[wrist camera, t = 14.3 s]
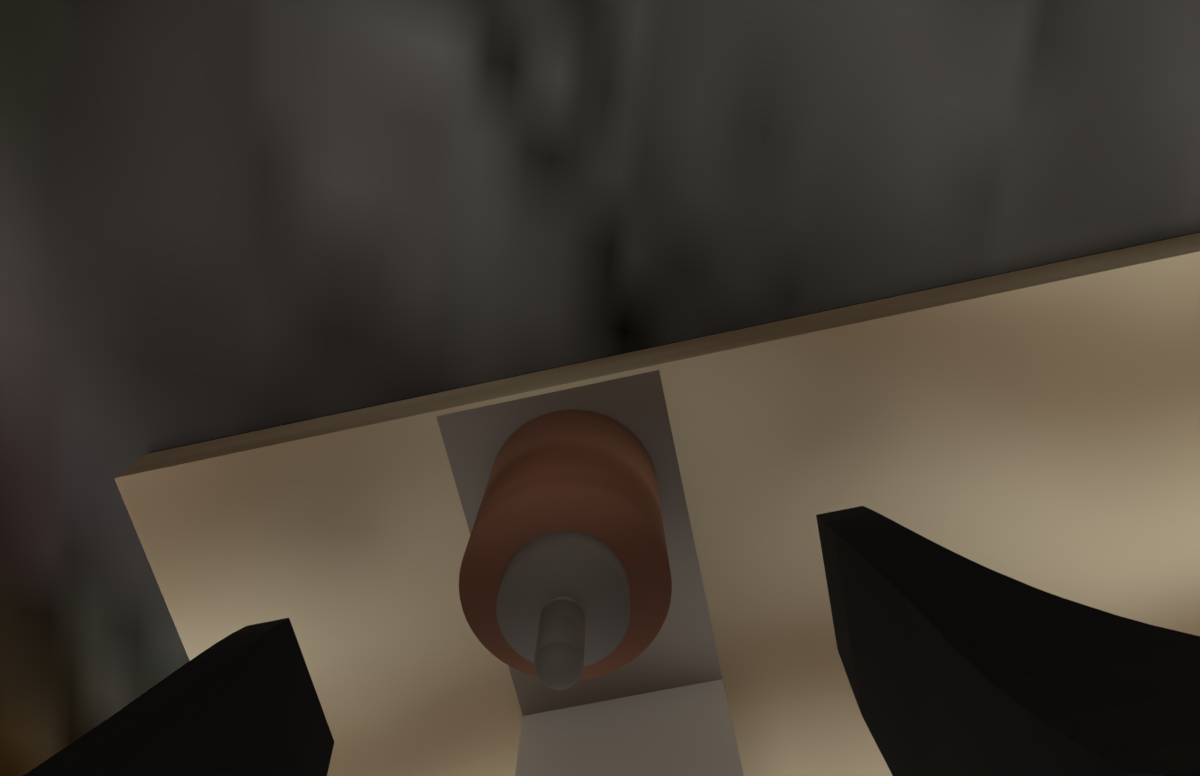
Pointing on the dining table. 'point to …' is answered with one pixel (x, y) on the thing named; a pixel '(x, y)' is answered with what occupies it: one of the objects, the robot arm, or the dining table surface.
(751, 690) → the subfloor panel
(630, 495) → the awl
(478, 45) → the dining table surface
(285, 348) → the dining table surface
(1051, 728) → the robot arm
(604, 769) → the block
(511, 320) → the dining table surface
